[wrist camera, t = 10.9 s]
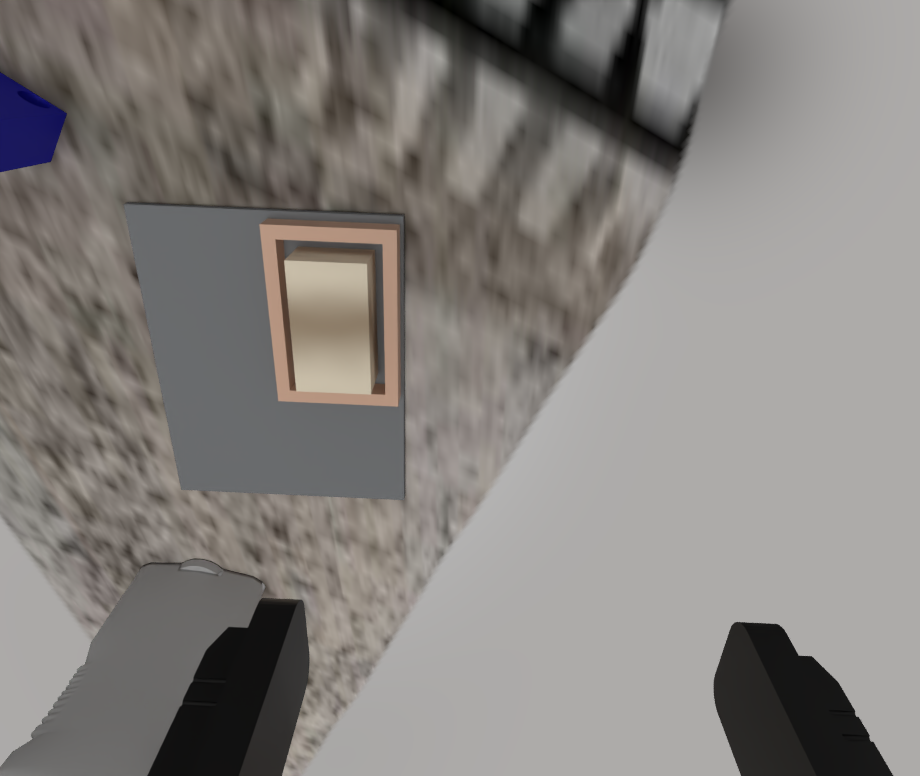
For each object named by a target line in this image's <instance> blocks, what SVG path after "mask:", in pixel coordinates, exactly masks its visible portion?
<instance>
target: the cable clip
mask: <svg viewBox="0 0 920 776" xmlns="http://www.w3.org/2000/svg"><path fill="white" fill-rule="evenodd" d="M66 115H67V113H65V112H64V111H62V110H61V109H59V108H57V107H56V106H54V105H52V104H51V103H49V102H48V101H46V100H44V99H43V98H41V97H39V96H38V95H36V94H35V93H33V92H31V91H30V90H28V89H26V88H25V87H23V86H22V85H20V84H18V83H17V82H15V81H13V80H12V79H10V78H9V77H7V76H5V75H4V74H2V73H1V72H0V172H3V171H8V170H13V169H18V168H23V167H28V166H33V165H37V164H42V163H47V162H51V159H52V156H53V153H54V150H55V147H56V145H57V142H58V139H59V136H60V133H61V130H62V127H63V124H64V121H65V118H66Z"/></svg>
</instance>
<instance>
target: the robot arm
mask: <svg viewBox="0 0 920 776" xmlns="http://www.w3.org/2000/svg"><path fill="white" fill-rule="evenodd" d="M308 673H309V647H308V637H307V627H306V618H305V608H304V603H303V601H302V600H294V599H273V598H262V599H261V600H260V601H259V603H258V604H257V607H256V609H255V611H254V614H253V616H252V619H251V621H250V623H249V626H248V628H244V627H228V628H227V629H226V630H225V631H224V632H223V633H222V634H221V635H220V636H219V637H218V638H217V639H216V640H215V641H214V642H213V643H212V644H211V645H210V646H209V647H208V648H207V649H206V651H205V653H204V655H203V658H202V660H201V662H200V664H199V666H198V668H197V670H196V673H195V675H194V677H193V682H192V683H190V685H189V688H188V690H187V692H186V694H185V696H184V698H183V703H182V706H180V707H179V709H178V711H177V713H176V715H175V717H174V720H173V722H172V724H171V726H170V728H169V730H168V732H167V734H166V737H165V739H164V741H163V743H162V745H161V747H160V749H159V752H158V754H157V756H156V758H155V760H154V762H153V764H152V766H151V769H150V771H149V773H148V775H147V776H282V773H283V770H284V766H285V762H286V759H287V755H288V752H289V748H290V744H291V741H292V737H293V734H294V730H295V726H296V723H297V719H298V715H299V712H300V708H301V705H302V701H303V697H304V694H305V690H306V686H307V680H308ZM714 699H715V704H716V709H717V712H718V715H719V718H720V720H721V723H722V726H723V728H724V731H725V734H726V736H727V739H728V742H729V744H730V747H731V750H732V753H733V755H734V758H735V761H736V763H737V766H738V768H739V771H740V774H741V776H893V775H892V773H891V771H890V769H889V768H888V766H887V765H886V763H885V761H884V759H883V758H882V756H881V754H880V752H879V751H878V749H877V747H876V746H875V744H874V742H871V741H870V739H869V734H868V732H867V730H866V729H865V727H864V725H863V724H862V722H861V720H860V719H859V717H856V715H855V710H854V708H853V707H852V705H851V703H850V702H849V700H848V698H847V696H846V695H845V693H844V691H843V690H842V688H841V686H840V685H839V683H838V682H837V681H836V680H835V679H834V678H833V677H832V676H831V675H830V674H829V673H828V672H827V671H826V670H825V669H824V668H823V667H822V666H821V665H820V664H819V663H818V662H817V661H816V660H815V659H814V658H813V657H812V656H798V654H797V652H796V650H795V648H794V646H793V645H792V643H791V641H790V639H789V637H788V635H787V634H786V632H785V630H784V629H783V628H782V627H781V626H780V625H778V624H766V623H745V622H736V623H734V624H733V625H732V626H731V629H730V632H729V635H728V638H727V641H726V644H725V647H724V650H723V653H722V656H721V659H720V662H719V665H718V668H717V671H716V674H715V678H714Z"/></svg>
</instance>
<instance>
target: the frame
mask: <svg viewBox="0 0 920 776" xmlns="http://www.w3.org/2000/svg"><path fill="white" fill-rule="evenodd" d="M259 226H260V235H261V244H262V254H263V263H264V272H265V282H266V291H267V300H268V310H269V319H270V328H271V337H272V347H273V356H274V365H275V375H276V384H277V393H278V401H286V402H308V403H330V404H352V405H374V406H395V407H398V405H399V401H400V397H401V353H400V224H380V223H358V222H335V221H313V220H290V219H268V218H267V219H266V220H265V221H263V222H262V223H260V224H259ZM283 240H301V241H323V242H346V243H368V244H383V296H384V351H385V384H374V388H373V391H372V394H371V395H368V394H345V393H322V392H300V391H296V382H295V372H294V361H293V350H292V340H291V329H290V318H289V308H288V297H287V287H286V276H285V265H284V260H285V253H284V242H283Z"/></svg>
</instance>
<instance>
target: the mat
mask: <svg viewBox="0 0 920 776" xmlns="http://www.w3.org/2000/svg"><path fill="white" fill-rule="evenodd" d="M124 209H125V214H126V219H127V224H128V229H129V234H130V239H131V244H132V249H133V254H134V259H135V264H136V268H137V273H138V278H139V283H140V288H141V293H142V298H143V303H144V308H145V313H146V318H147V323H148V328H149V332H150V337H151V342H152V347H153V352H154V357H155V362H156V367H157V372H158V377H159V382H160V387H161V392H162V396H163V401H164V406H165V411H166V416H167V421H168V426H169V431H170V436H171V441H172V446H173V451H174V456H175V460H176V465H177V470H178V475H179V480H180V485H181V490H200V491H222V492H243V493H265V494H286V495H308V496H329V497H351V498H372V499H394V500H404V498H405V356H404V215H398V214H376V213H353V212H331V211H309V210H286V209H264V208H241V207H219V206H196V205H174V204H151V203H129V202H128V203H125V204H124ZM267 218H268V219H290V220H313V221H335V222H358V223H380V224H400V353H401V397H400V401H399V405H398V407H395V406H374V405H352V404H330V403H308V402H286V401H278V393H277V384H276V375H275V365H274V356H273V347H272V337H271V328H270V319H269V310H268V300H267V291H266V282H265V272H264V263H263V254H262V244H261V235H260V226H259V224H260V223H262V222H263V221H265V220H266V219H267ZM283 242H284V253H285V259H286V258H287V257H288V256H289V255H290V254H291V253H292V252H293V251H294V250H295V249H296V248H297V247H298V246H300V247H323V248H347V249H370V250H375V267H376V305H377V344H378V375H377V378H376V381H375V384H385V351H384V296H383V244H368V243H346V242H323V241H301V240H283Z"/></svg>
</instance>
